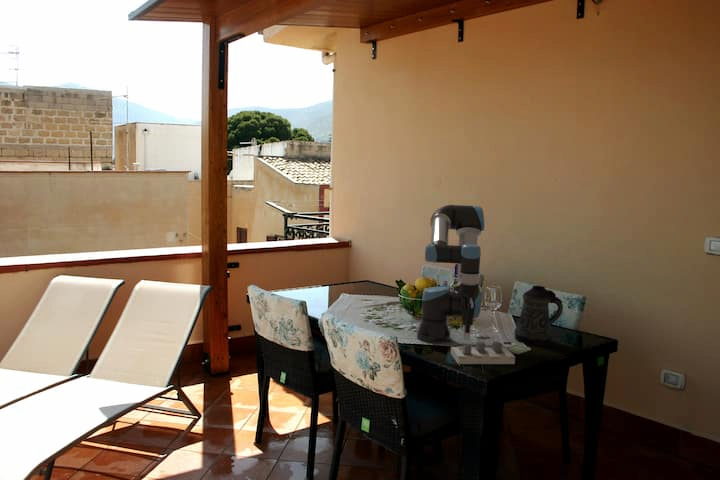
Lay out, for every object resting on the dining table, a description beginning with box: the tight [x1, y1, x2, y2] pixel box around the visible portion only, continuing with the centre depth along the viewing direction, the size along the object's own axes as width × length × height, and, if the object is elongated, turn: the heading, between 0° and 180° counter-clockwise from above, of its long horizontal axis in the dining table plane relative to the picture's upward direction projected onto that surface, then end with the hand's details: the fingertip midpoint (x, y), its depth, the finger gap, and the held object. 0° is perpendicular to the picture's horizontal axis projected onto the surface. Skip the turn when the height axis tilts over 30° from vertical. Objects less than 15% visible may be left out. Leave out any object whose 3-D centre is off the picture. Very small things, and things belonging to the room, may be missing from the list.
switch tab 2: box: [475, 340, 486, 353], centre depth 245 cm, size 4×3×4 cm
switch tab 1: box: [462, 344, 473, 356], centre depth 240 cm, size 4×3×4 cm
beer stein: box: [514, 285, 564, 346], centre depth 271 cm, size 16×19×25 cm
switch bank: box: [450, 346, 516, 365], centre depth 243 cm, size 13×23×3 cm, turn 95°
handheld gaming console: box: [490, 339, 532, 355], centre depth 259 cm, size 10×2×15 cm
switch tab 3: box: [492, 341, 502, 353], centre depth 246 cm, size 4×3×4 cm
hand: (466, 339), depth 242 cm, fingers closed
